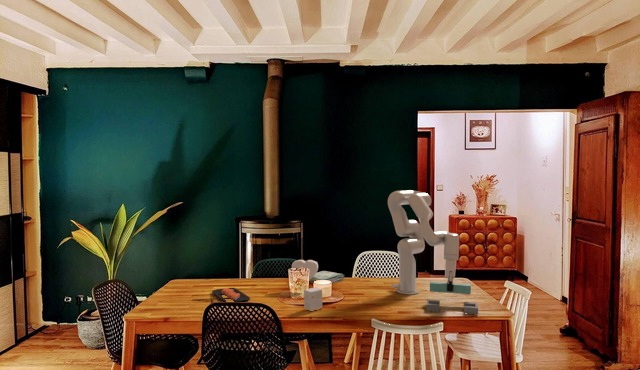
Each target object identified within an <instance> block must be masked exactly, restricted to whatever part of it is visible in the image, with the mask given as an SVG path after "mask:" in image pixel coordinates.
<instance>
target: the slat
mask: <svg viewBox="0 0 640 370" xmlns="http://www.w3.org/2000/svg"><path fill="white" fill-rule="evenodd" d="M447 284H448V283H447V282H441V281H429V292H432V293H433V292H434V293H448V294H457V295H458V294H461V295H471V294H472V293H471V292H472V291H471V289H472V285H471V284H470V283H454V282H453V292H450V291H447Z"/></svg>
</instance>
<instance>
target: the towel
mask: <svg viewBox="0 0 640 370" xmlns="http://www.w3.org/2000/svg"><path fill="white" fill-rule="evenodd" d="M344 278H345V274H343V273H337V272H333V271H327V270H322V271H319V272H318V271H317V272H316V274H315V275H314V276H313V277H312V278H311V279H310V282H309V283H312V284H314V283H313V282H314V281H316V280H330V281H331V282H332V283H331V284H333V283H334V284H335V283H338V282H342V281H343V280H344Z"/></svg>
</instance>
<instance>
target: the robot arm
mask: <svg viewBox="0 0 640 370" xmlns="http://www.w3.org/2000/svg"><path fill="white" fill-rule="evenodd" d="M431 204H432V198H431V196H430V195H429V194H428V193H426V192H422V191H417V190H411V189H408V190H407V189H406V190H402V189H401V190H395V191H393V192H391V193H390V194H389V196H388V198H387V206H388V209H389V212H390V215H391V217H392V222H393V225H394V229H395V233H396V235H397V236H399V237H401V238H402V237H406V238H403V239H401V240H399V242H398V243H397V252H398V263H399V264H398V266H399V269H398V270H399V271H398V272H399V275H398V276H399V282H398V283H397V284H395V283H391V288H393V289H396V292H397V293H398V294H401V295H409V296H410V295H416V294H418V293H419V289H418V288H417V287H416V286H417V285H416V284H417V281H416V279H417V274H416V273H417V271H416V270H417V269H416V267H417V266H416V259H415V256H414V254H415V255H416V254H420V253H422V252H423V251H424V250H425V247H426V245H425V243H427V244H428V245H429V246H431V247H436V246H443V260H445V263H444V265H445V266H444V278H445V279H447V282H446V283H448V284H447V291H450V292H453V283H454V279H455V278H456V267H457V261H459V252H460V251H459V250H460V236H459V234H458V233H455V232H449V231H446V230H436V231H434V229H432V227H431V225H430V220H431V219H432V218H433V217H434V212H433V211H432V209H431V208H430V206H431ZM404 205H409V206H410V207H411V208H412V211H413V212H414V214H415V215H416V217H417V218H418V220H419V222H418V221H417V220H415V219H408V216H407V212H406V211H405V208H403V206H404ZM407 237H408V238H407ZM425 241H426V242H425Z"/></svg>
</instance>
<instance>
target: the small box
mask: <svg viewBox="0 0 640 370" xmlns="http://www.w3.org/2000/svg"><path fill="white" fill-rule="evenodd" d="M303 302H304V303H303V306H304V307H303V308H305V309H307V310H310V311H312V310H315V309H320V308H322V309H323V289H321V288H319V287H311V288H307V290H304V291H303Z"/></svg>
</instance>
